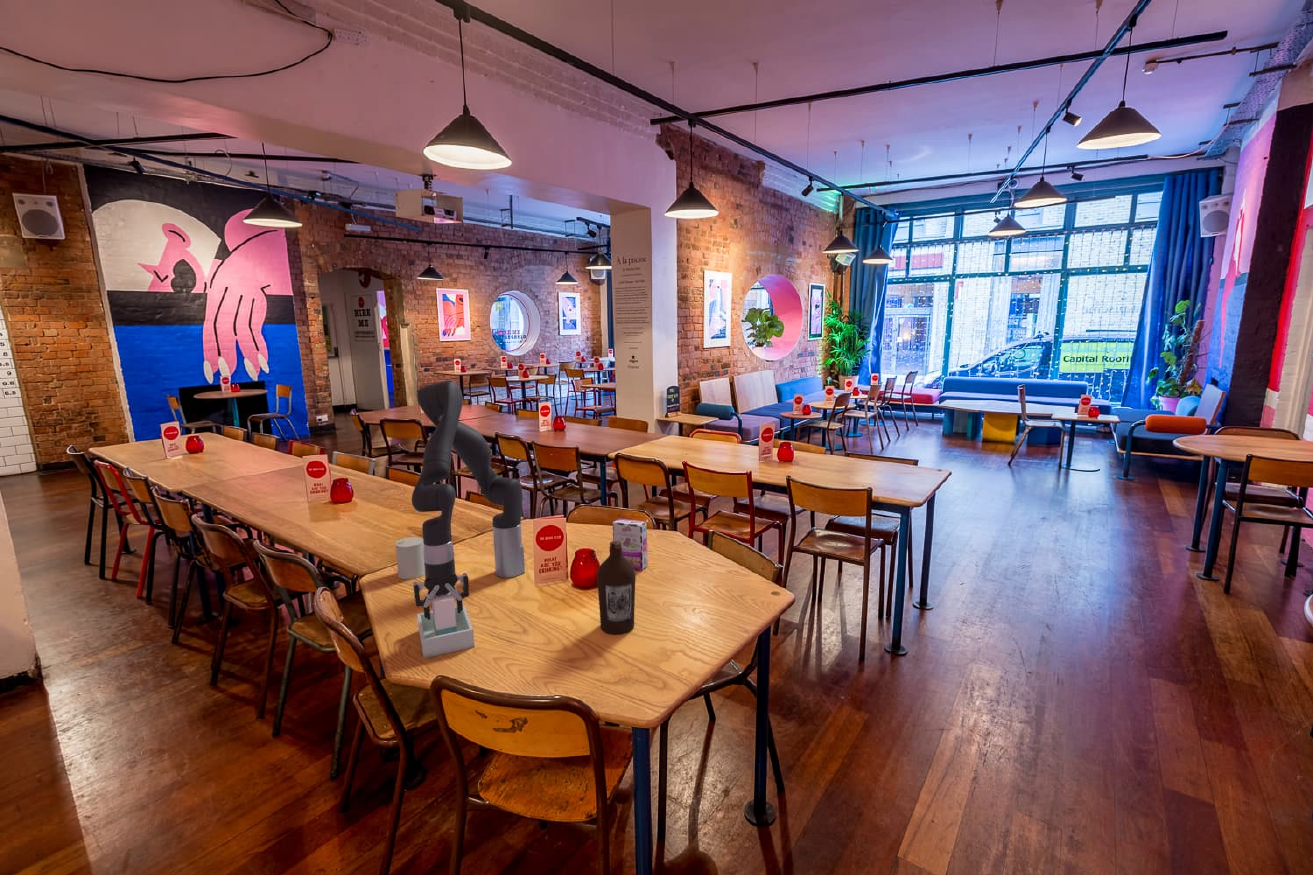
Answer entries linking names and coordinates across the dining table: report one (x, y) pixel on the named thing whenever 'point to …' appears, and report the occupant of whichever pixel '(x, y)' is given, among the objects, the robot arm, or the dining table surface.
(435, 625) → the carton
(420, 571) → the can
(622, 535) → the candy bar box
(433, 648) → the tray
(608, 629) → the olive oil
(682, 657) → the dining table surface
